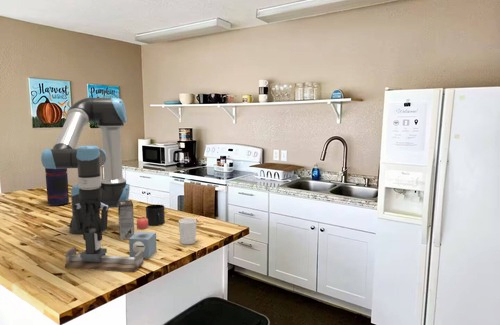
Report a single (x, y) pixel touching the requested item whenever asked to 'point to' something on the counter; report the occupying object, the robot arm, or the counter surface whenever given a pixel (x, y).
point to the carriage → (92, 248)
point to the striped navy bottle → (57, 186)
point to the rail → (105, 262)
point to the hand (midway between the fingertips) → (93, 248)
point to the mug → (155, 215)
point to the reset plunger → (142, 223)
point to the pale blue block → (143, 244)
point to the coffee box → (126, 219)
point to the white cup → (187, 230)
